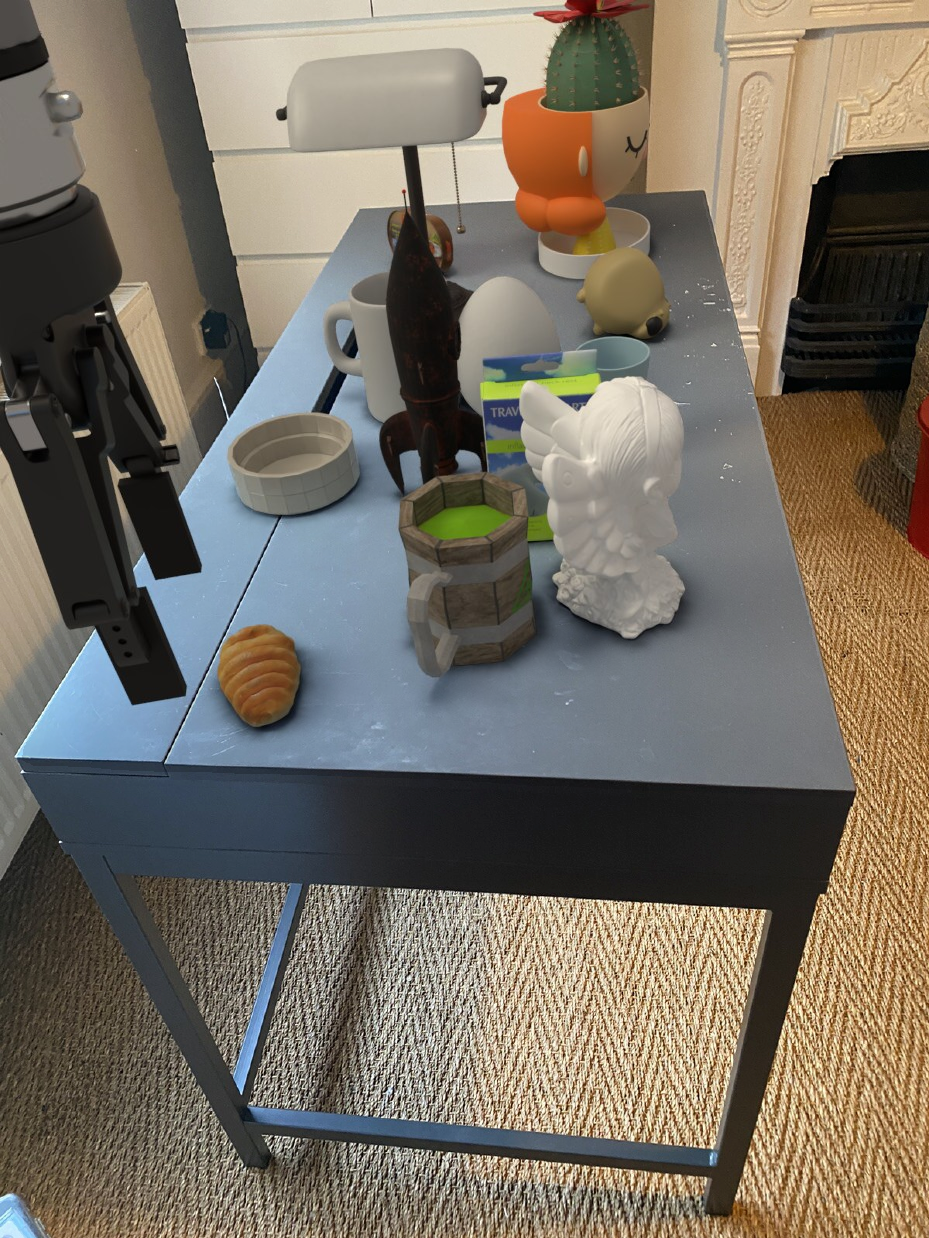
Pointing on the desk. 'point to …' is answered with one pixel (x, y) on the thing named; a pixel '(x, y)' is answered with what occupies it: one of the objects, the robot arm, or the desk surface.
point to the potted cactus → (580, 140)
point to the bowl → (294, 463)
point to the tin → (436, 233)
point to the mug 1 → (368, 344)
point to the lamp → (392, 112)
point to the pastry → (259, 673)
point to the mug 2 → (467, 570)
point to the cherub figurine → (609, 498)
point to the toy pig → (625, 294)
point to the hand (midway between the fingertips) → (170, 629)
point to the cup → (619, 357)
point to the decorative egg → (502, 332)
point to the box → (505, 420)
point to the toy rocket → (425, 365)
